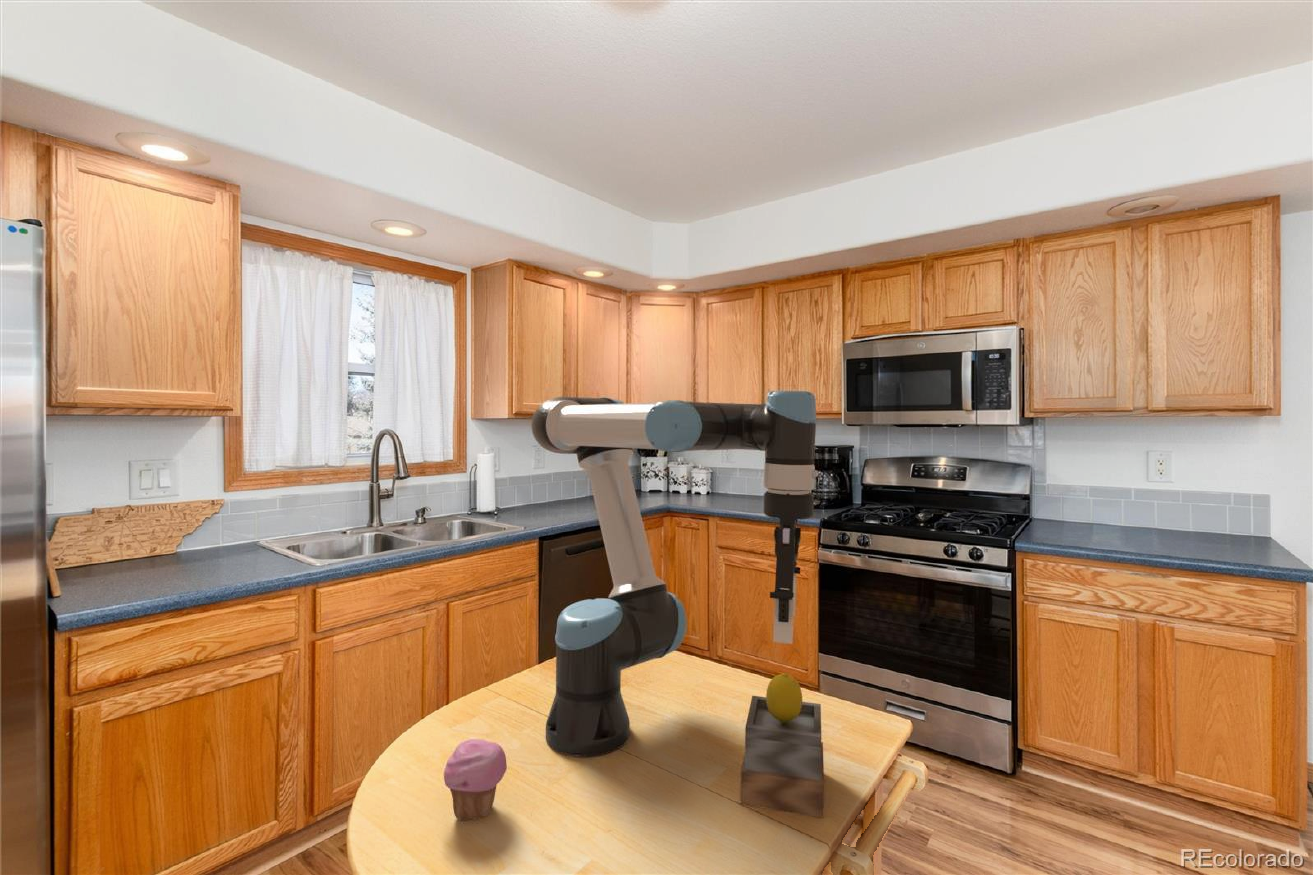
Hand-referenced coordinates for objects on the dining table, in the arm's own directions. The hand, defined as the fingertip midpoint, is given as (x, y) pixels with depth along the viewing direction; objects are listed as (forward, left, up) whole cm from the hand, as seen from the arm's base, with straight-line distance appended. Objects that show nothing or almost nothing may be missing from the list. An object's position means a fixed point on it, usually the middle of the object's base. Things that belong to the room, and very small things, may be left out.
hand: (784, 627), depth 97 cm
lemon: (0, 0, -15) cm, 15 cm away
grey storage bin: (0, 0, -25) cm, 25 cm away
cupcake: (-43, -18, -26) cm, 53 cm away
